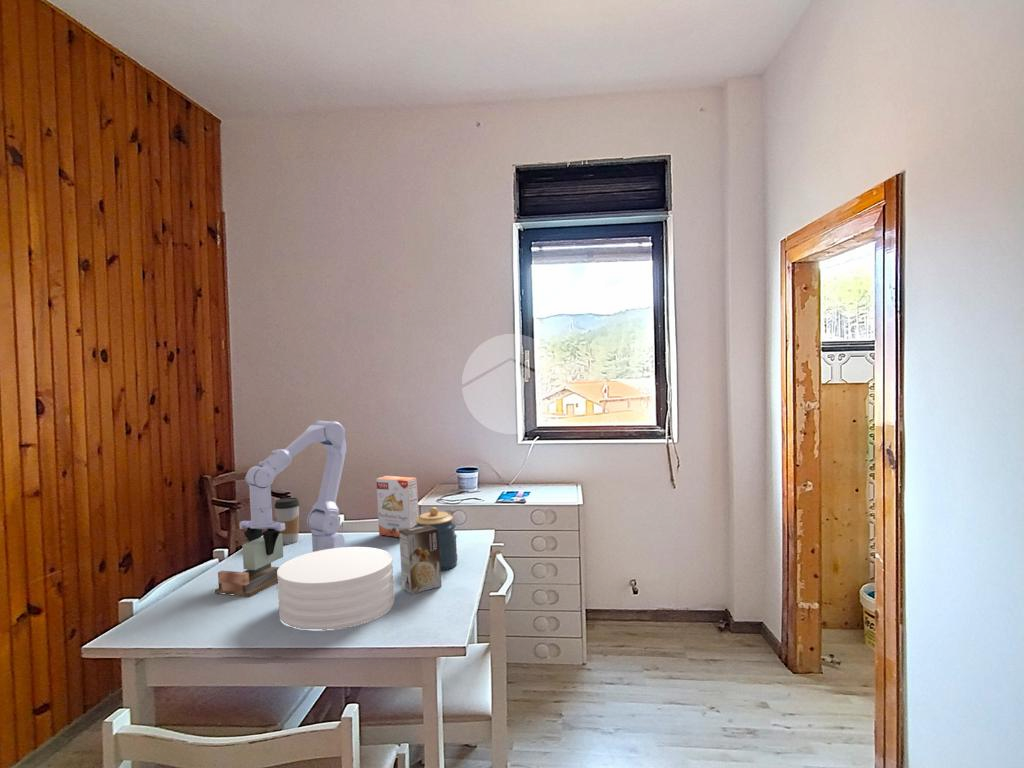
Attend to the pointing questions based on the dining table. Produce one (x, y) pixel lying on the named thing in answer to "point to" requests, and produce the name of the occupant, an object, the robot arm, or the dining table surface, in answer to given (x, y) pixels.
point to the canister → (442, 535)
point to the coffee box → (420, 558)
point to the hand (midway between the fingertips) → (263, 553)
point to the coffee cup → (288, 518)
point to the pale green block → (260, 553)
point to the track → (247, 581)
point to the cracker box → (396, 504)
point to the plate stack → (335, 587)
